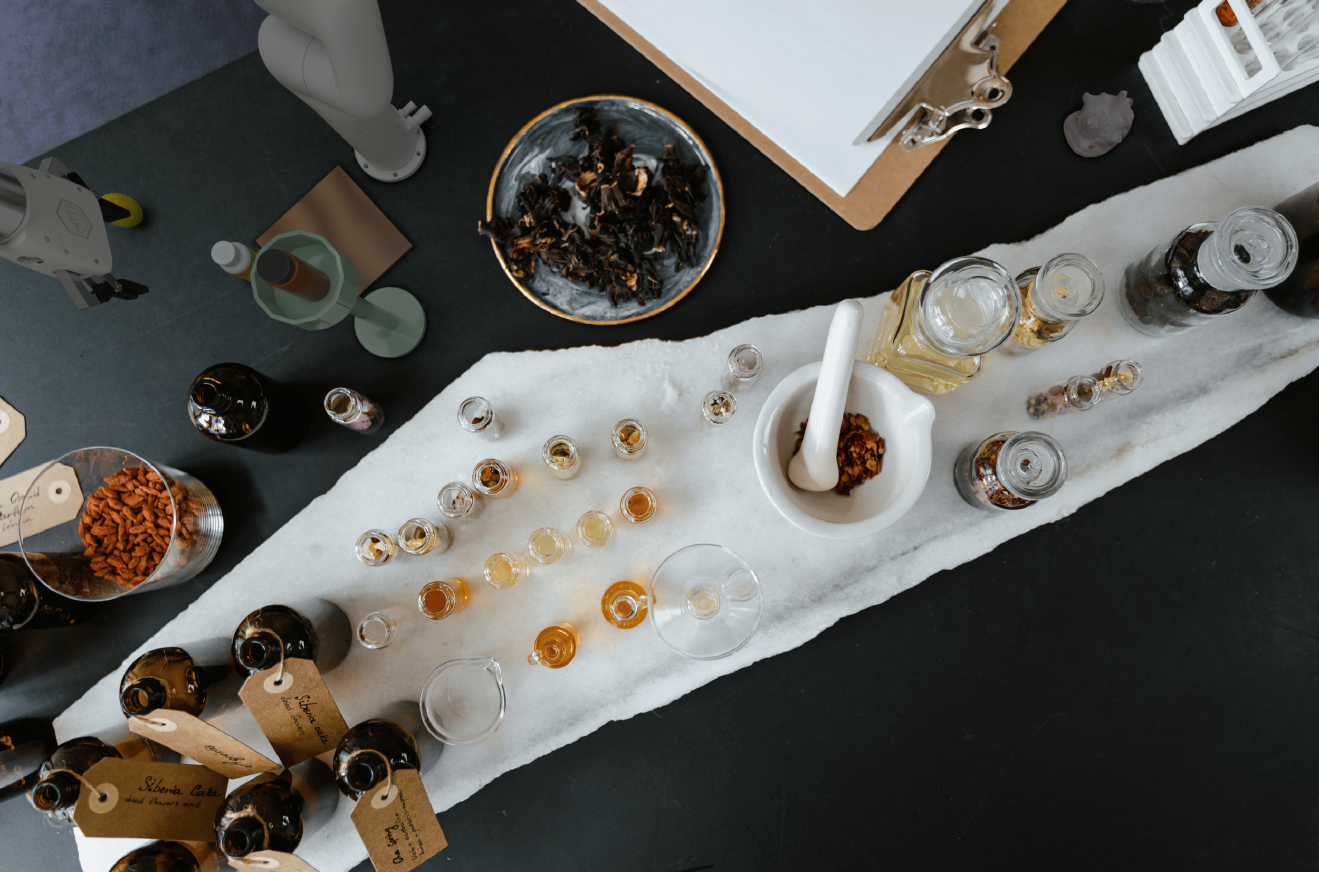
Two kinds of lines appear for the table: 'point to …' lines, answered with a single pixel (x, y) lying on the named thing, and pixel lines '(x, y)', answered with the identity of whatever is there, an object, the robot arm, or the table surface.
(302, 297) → the amber bottle
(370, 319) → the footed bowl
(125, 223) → the fruit
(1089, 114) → the seashell
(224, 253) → the supplement bottle
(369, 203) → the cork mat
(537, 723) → the table surface
